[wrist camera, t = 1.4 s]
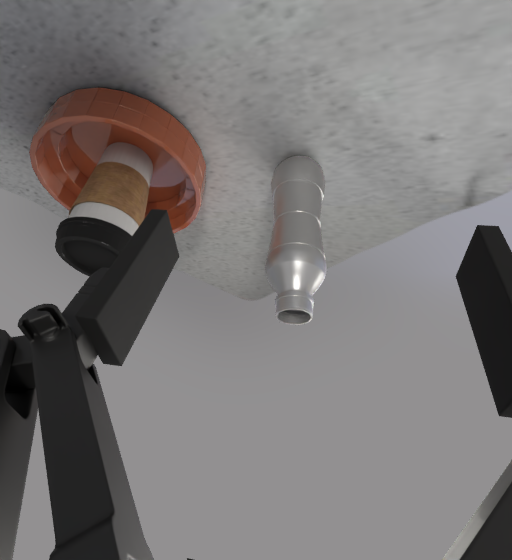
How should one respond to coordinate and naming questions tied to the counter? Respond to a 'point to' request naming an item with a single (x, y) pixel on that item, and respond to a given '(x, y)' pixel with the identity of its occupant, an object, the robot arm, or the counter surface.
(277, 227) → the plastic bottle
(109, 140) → the bowl
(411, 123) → the counter surface
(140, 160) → the coffee cup
